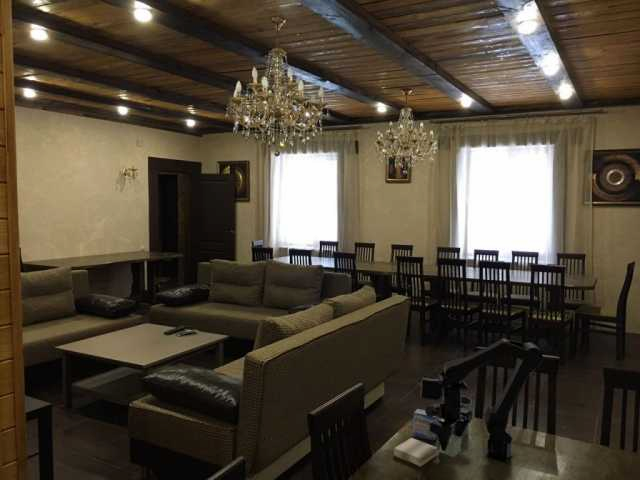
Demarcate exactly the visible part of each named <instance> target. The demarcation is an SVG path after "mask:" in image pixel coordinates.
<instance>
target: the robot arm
mask: <svg viewBox="0 0 640 480" xmlns="http://www.w3.org/2000/svg"><path fill="white" fill-rule="evenodd" d="M504 355H508V356H511V357H514V358H516V364H515V367H514V370H513V371H512V374H511V375H510V377H509V379H508V382H507V384H505V385H506V386H505V387H504V389H503V391H502V393H501V395H500V397H499V399H498V401H497V402H496V404H494V406H492V405H490V404H489V405H488V406H487V409H486V411H485V412H484V413H483V422H484V425H485V428H486V430H487V433H488V434H489V436H488V439H487V444H486V445H487V450H486V451H487V452H486V453H485V454H486V456H487V457H490V458H493V459H495V460H498V461H501V462H503V463H505V462H507V461H508V460H509V459H510V458H511V457H513V455H514V454H513V453H512V441H513V437H512V434H511V432H510V430H509V428H508V423H509V417H510V416H509V415H510V411H511V409H512V408H513V407H514V404H515V402H516V400H517V399H518V397H519V395H520V393H521V390H522V388H523V387H524V385H525V382H526V381H527V379H528V377H529V376H530V375H531V374H532V373H533V372H535V370H537V368H538V367H539V366H540V365H541V363H542V362H543V360H544V355H543V352H542V350H541V349H539V347H538V346H537V345H536V344H535V343H533V342H521V341H517V340H510V339H507V338H500V339H499V340H498V341H497V342H494V343H492V344H489V345H488V346H486V347H485V348H482V349H480V350H477V351H476V352H474V353H472V354H470V355H469V356H466V357H460V358H458V357H457V358H455V359H451V360H449V361H447V362H445V364H444V366H443V370H442V371H441V372H440V373H439V375H438V376H437V378H427V377H422V378H421V385H420V399H421V400H431V401H432V400H435V401H438V400H440V399H441V398H442V402H439V403H433V404H428V405H426V406H425V413H426V415H427V416H429V417H432V416H439V419H441V420H436V421H434V422H433V423H431V424H430V425H429V431H430V432H432V433H435V434H436V435H437V439H438V442H439V447H440V446H441V449H442V450H443V451H445V450H446V448H447V445H448V443H449V440H450V437H451V431H452V427H451V426H452V425H453V424H455V436H458V437H461V438H462V435H463V433H464V431H465V430H466V428H467V426H468V425H470V423H471V421H472V420H473V415H474V414H473V412H472V410H471V411H470V410H467V409H464V408H462V407H463V405H464V404H463V403H461V395H462V390H468V389H469V387H468V384H467V383H466V382H465V381H464V379H465V378H467V377H469V375H470V374H471V373H472V372H473V371H474V370H476V369H478V368H480V367H482V366H484V365H486V364H489V363H490V362H493V361H494V360H497V359H499V358H500V357H502V356H504ZM442 396H443V397H442ZM442 419H443V421H442ZM444 420H445V421H444Z"/></svg>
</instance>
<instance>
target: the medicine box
mask: <svg viewBox="0 0 640 480" xmlns="http://www.w3.org/2000/svg"><path fill="white" fill-rule="evenodd" d="M425 411H426V409H421V408H420V409H419V408H417V409H416V410H415V411H414V412H413V426H412V427H413V428H412V429H413V432H412V436H413V437H416V438H421V439H424V440H425V439H426V440H429V441H435V440H436V439H438V437H437V435H436V434H435V433H432V432H430V431H429V425H430V424H431V423H433V422H434V421H436V420H439V419H440V418H439V416H432V417H429V416H427V415H426V413H425Z"/></svg>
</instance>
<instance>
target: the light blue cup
mask: <svg viewBox="0 0 640 480" xmlns="http://www.w3.org/2000/svg"><path fill="white" fill-rule="evenodd" d="M461 403H463V404H464V405H463V407H462V408H464V409H467V410H470V411H471V412H472V406H473V400H472V399H471V398H470V397H468V396H466V395H462V394H461ZM444 421H445V420H444V419H443V422H444ZM469 425H470V424H469ZM469 425H468V426H467V428H466V430H465V431H464V433H463V435H462V437H466V436H468V434H469ZM451 427H452V431H451V434H453V435H455V424H453V425H452V426H451ZM462 437H461V438H462Z"/></svg>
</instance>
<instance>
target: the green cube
mask: <svg viewBox="0 0 640 480" xmlns="http://www.w3.org/2000/svg"><path fill="white" fill-rule="evenodd" d="M461 451H462V437H458V436H455V435H453V434H451V437H450V440H449V443H448V445H447V448H446V450H445V451H443V450H442V449H441V446H440V445H439V453H441V454H444V455H447V456H449V457H452V458H454V457H456V456H457V455H458V454H460V453H461Z"/></svg>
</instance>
